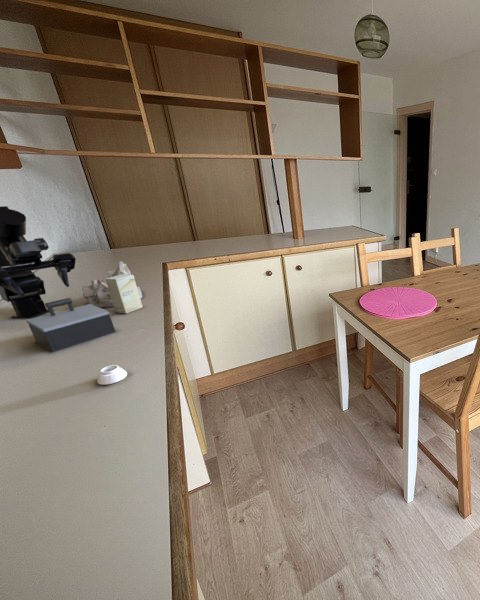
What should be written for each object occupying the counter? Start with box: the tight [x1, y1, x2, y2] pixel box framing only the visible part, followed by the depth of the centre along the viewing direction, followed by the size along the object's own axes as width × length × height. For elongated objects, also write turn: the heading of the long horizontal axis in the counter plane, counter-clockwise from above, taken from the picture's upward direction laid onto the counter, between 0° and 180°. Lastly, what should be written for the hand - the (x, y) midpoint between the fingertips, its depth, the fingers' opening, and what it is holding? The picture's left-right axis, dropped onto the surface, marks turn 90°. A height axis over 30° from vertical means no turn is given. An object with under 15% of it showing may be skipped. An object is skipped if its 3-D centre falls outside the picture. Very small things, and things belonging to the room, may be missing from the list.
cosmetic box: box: [104, 274, 144, 314], centre depth 106 cm, size 6×4×12 cm
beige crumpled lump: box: [81, 261, 143, 309], centre depth 114 cm, size 16×16×15 cm
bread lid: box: [25, 297, 110, 332], centre depth 87 cm, size 11×14×5 cm
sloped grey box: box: [28, 313, 116, 353], centre depth 89 cm, size 11×14×6 cm
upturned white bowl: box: [96, 364, 128, 386], centre depth 71 cm, size 5×3×5 cm
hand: (46, 290), depth 90 cm, fingers open, 9 cm apart
